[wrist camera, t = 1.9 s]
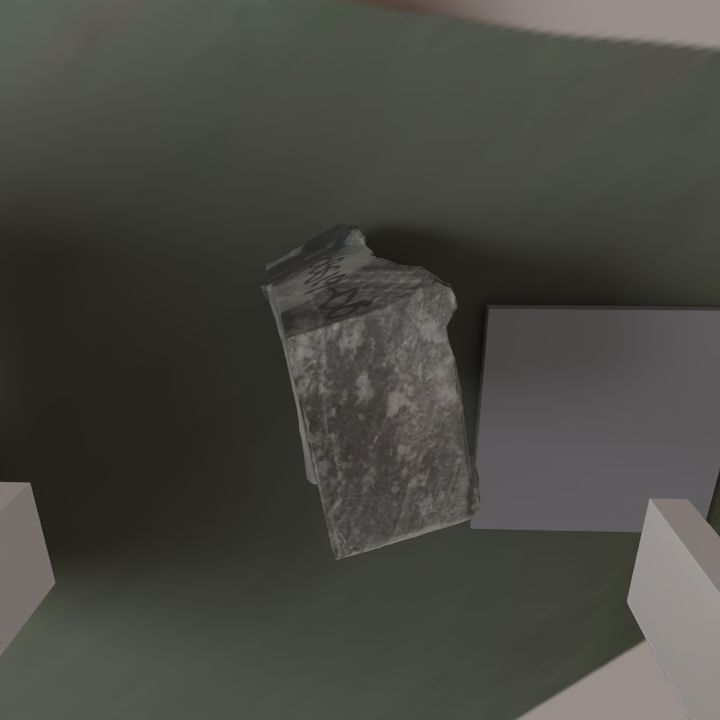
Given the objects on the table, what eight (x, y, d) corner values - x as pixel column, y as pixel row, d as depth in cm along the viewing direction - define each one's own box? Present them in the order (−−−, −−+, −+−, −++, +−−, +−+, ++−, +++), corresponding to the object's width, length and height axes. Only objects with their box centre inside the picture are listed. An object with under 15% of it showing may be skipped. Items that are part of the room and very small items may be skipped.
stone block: (347, 220, 29) (247, 239, 28) (459, 254, 16) (274, 294, 15) (374, 377, 32) (285, 400, 31) (487, 520, 19) (335, 566, 18)
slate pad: (468, 520, 35) (470, 528, 34) (486, 304, 30) (488, 308, 29) (695, 525, 35) (702, 533, 34) (752, 306, 30) (761, 310, 29)
